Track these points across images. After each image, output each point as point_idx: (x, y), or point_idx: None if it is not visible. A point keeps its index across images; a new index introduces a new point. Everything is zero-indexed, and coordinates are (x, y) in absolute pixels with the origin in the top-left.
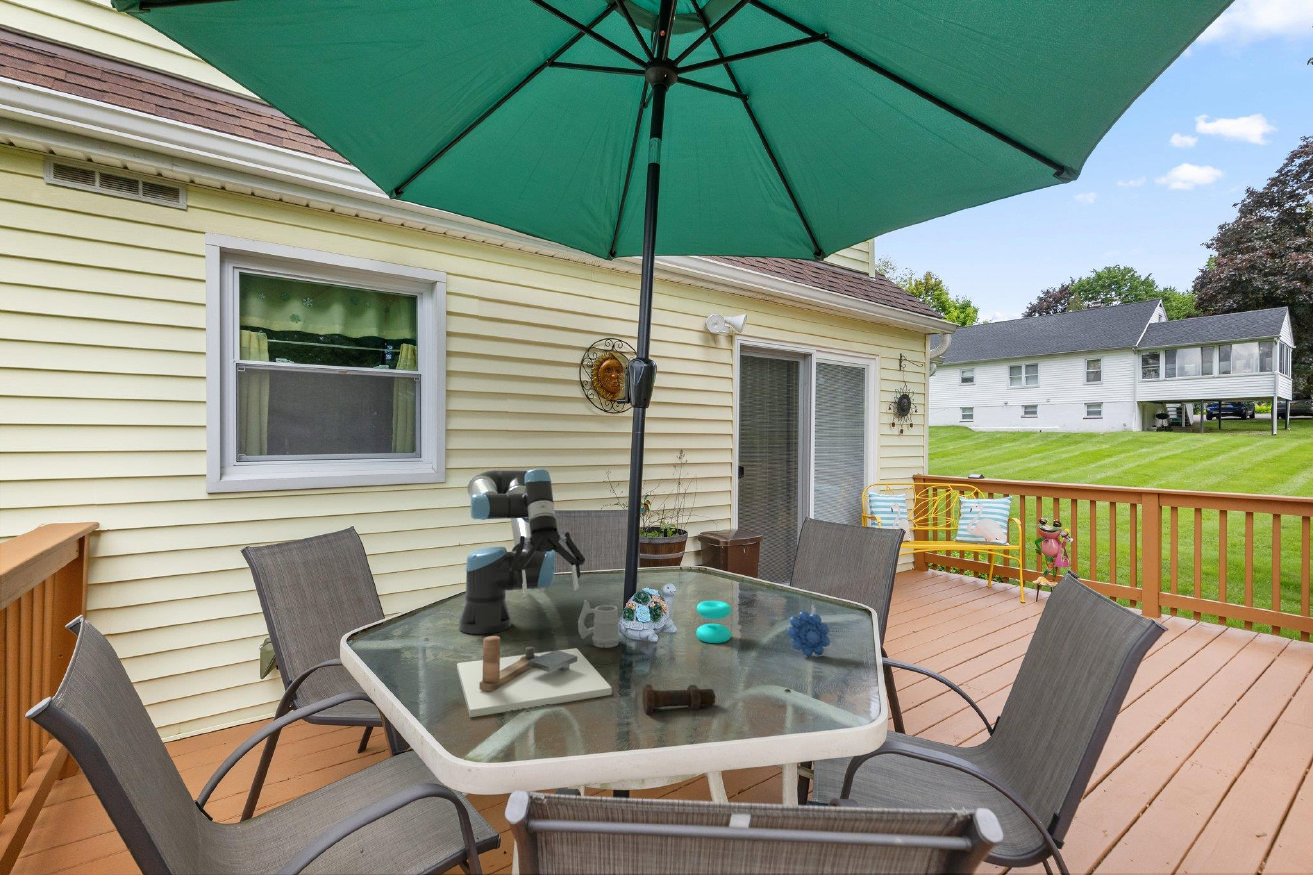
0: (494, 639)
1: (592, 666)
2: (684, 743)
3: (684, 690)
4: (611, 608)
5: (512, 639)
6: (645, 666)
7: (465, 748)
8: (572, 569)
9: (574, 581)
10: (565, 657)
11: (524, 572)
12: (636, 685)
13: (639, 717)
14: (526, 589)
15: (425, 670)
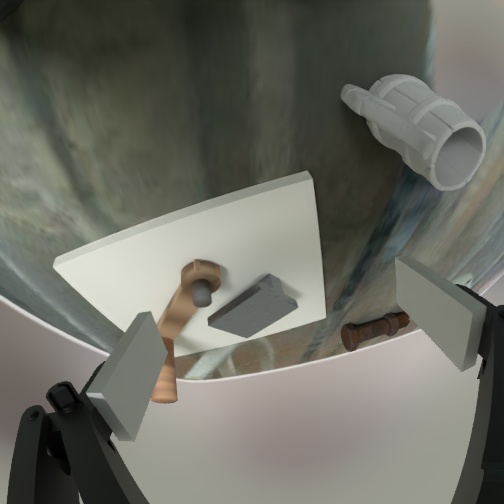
0: (170, 401)
1: (322, 268)
2: (346, 352)
3: (385, 331)
4: (475, 133)
5: (92, 42)
6: (405, 235)
7: (179, 374)
8: (454, 338)
9: (414, 308)
10: (276, 313)
11: (135, 428)
12: (362, 289)
13: (332, 336)
14: (161, 364)
15: (13, 262)
